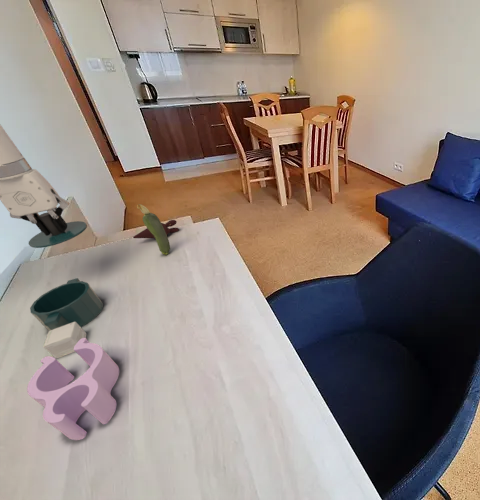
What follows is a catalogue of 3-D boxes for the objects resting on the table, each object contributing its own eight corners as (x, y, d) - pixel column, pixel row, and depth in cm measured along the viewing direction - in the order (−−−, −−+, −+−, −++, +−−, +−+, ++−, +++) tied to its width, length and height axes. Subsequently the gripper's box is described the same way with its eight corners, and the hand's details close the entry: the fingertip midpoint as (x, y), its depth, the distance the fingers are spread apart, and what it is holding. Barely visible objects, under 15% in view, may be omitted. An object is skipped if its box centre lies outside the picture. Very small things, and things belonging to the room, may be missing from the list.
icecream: (132, 236, 105) (178, 223, 113) (127, 224, 109) (172, 212, 117) (138, 250, 110) (182, 237, 118) (134, 238, 114) (177, 226, 122)
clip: (132, 407, 60) (113, 388, 56) (54, 458, 54) (27, 440, 50) (113, 349, 73) (96, 330, 69) (48, 384, 66) (26, 366, 62)
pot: (37, 349, 75) (15, 329, 71) (62, 303, 89) (45, 284, 84) (94, 331, 78) (77, 311, 74) (110, 289, 92) (96, 270, 88)
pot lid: (22, 255, 80) (2, 232, 76) (42, 231, 90) (25, 210, 86) (80, 240, 84) (64, 218, 80) (93, 220, 94) (80, 199, 90)
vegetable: (173, 249, 108) (147, 198, 97) (177, 253, 106) (151, 202, 94) (160, 254, 106) (132, 203, 95) (164, 259, 103) (136, 207, 92)
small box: (60, 343, 76) (48, 330, 73) (87, 333, 78) (76, 320, 75) (55, 360, 72) (41, 347, 69) (83, 349, 74) (71, 336, 71)
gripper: (-41, 181, 70) (16, 246, 81) (42, 166, 75) (86, 229, 85) (-23, 171, 76) (28, 233, 87) (54, 158, 81) (93, 218, 91)
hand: (56, 231), depth 86 cm, fingers closed on pot lid, 2 cm apart
